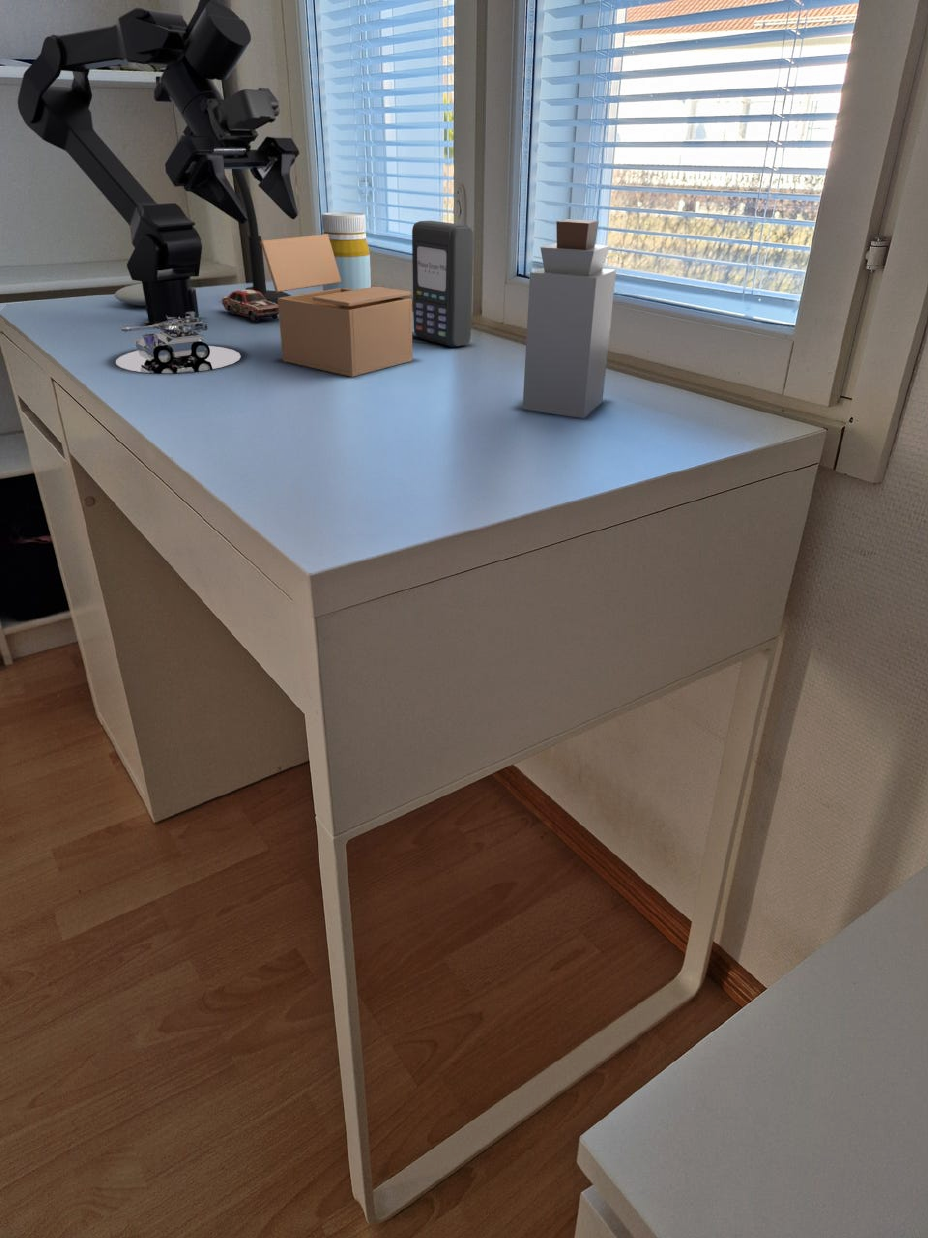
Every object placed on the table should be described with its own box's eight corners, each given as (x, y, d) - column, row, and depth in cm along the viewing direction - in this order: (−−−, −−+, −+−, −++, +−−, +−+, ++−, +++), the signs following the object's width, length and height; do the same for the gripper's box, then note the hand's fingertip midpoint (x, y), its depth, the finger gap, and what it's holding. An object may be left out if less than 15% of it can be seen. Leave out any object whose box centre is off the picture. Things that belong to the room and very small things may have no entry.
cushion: (207, 300, 141) (205, 281, 139) (165, 312, 131) (161, 292, 129) (146, 295, 144) (143, 276, 142) (100, 307, 134) (96, 287, 132)
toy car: (100, 353, 106) (91, 309, 103) (213, 340, 114) (207, 298, 111) (139, 379, 96) (130, 330, 93) (260, 362, 104) (255, 317, 101)
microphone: (263, 284, 156) (245, 95, 141) (302, 304, 139) (286, 91, 124) (199, 288, 152) (173, 92, 137) (231, 309, 134) (205, 88, 119)
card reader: (409, 337, 118) (407, 220, 111) (431, 334, 120) (430, 219, 113) (450, 349, 112) (451, 226, 105) (473, 345, 115) (475, 225, 107)
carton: (282, 361, 105) (276, 290, 101) (344, 346, 112) (341, 280, 108) (352, 377, 99) (348, 302, 94) (412, 360, 106) (411, 291, 102)
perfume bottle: (602, 402, 91) (621, 220, 82) (583, 418, 86) (601, 225, 77) (544, 394, 94) (556, 216, 85) (522, 409, 88) (532, 221, 79)
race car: (254, 319, 135) (248, 288, 133) (284, 319, 126) (278, 286, 124) (225, 322, 133) (219, 291, 131) (253, 322, 123) (247, 289, 122)
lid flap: (277, 291, 101) (275, 292, 101) (341, 281, 108) (339, 282, 108) (262, 240, 99) (260, 241, 99) (328, 233, 106) (325, 234, 107)
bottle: (376, 320, 128) (372, 212, 121) (367, 329, 122) (362, 216, 115) (331, 319, 129) (325, 211, 121) (320, 328, 123) (312, 215, 115)
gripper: (173, 51, 93) (250, 178, 95) (287, 64, 107) (353, 174, 108) (132, 124, 100) (204, 240, 102) (244, 127, 114) (306, 229, 116)
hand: (271, 219), depth 107 cm, fingers open, 9 cm apart
